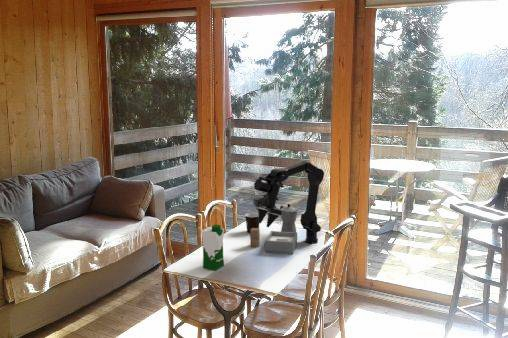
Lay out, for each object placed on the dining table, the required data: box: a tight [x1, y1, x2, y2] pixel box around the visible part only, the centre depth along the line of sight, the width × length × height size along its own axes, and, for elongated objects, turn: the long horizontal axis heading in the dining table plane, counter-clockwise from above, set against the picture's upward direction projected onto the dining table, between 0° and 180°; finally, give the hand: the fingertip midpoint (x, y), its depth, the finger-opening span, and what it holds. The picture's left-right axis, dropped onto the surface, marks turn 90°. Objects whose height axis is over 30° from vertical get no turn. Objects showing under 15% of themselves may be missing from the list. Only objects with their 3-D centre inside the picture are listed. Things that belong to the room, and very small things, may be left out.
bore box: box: [264, 230, 298, 255], centre depth 244 cm, size 16×14×6 cm
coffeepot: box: [279, 203, 298, 233], centre depth 263 cm, size 15×9×18 cm, turn 29°
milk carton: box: [200, 224, 225, 272], centre depth 219 cm, size 9×9×20 cm
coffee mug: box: [244, 212, 260, 234], centre depth 268 cm, size 12×9×10 cm
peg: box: [249, 227, 261, 249], centre depth 247 cm, size 4×4×9 cm
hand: (263, 225), depth 234 cm, fingers open, 9 cm apart
